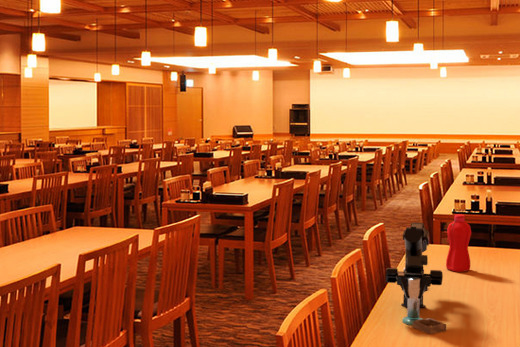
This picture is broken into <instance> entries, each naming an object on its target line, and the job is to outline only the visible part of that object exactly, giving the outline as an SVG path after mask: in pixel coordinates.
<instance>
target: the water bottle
mask: <svg viewBox="0 0 520 347" xmlns="http://www.w3.org/2000/svg"><path fill="white" fill-rule="evenodd" d="M453 217H454V219H453V221H451V222H450V223H449V224H448V225H447V229H446V233H447V241H446V242H447V245H449V249H448V252H447V256H446V261H445V267H446V269H447V270H448V271H449V270H450V271H452V272H455V273H461V272H463V273H464V272H469V271H470V270H471V258H470V253H469V243H470V240H471V236H472V229H471V225H470V224H469V223H467V222H466V221H465V215H464V214H459V213H458V214H455V215H454V216H453Z"/></svg>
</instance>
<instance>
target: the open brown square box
mask: <svg viewBox="0 0 520 347" xmlns="http://www.w3.org/2000/svg"><path fill="white" fill-rule="evenodd" d="M412 328H414V329H415V330H417V331H421V332H423V333H426V334H428V335H431V334H435V333H441V332H445V331H447V324H446V323H444V322H441V321H439V320H437V319H433V318H431V317H428V318H422V320H417V321H413V325H412Z"/></svg>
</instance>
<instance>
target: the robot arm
mask: <svg viewBox="0 0 520 347" xmlns="http://www.w3.org/2000/svg"><path fill="white" fill-rule="evenodd" d="M402 240H403V241H404V247H405V251H404V252H405V256H404V257H405V259H404V260H405V262H404V268H405V270H404V269H403V270H404V271H401V270H398V268H397V267H395V268H394V267H387V268H386V269H385V282H386V283H389V284H396V286H399V287H400V288H401V291H403V298H402V300H403V302H402V303H401V304H400V306H402V307H405V308H407V303H408V278H410V277H416V278H420V309H424V308H427V305H425V304H424V293H426V292H428V288H430V287H431V285H432V286H442V284H443V277H444V275H443V271H442V270H440V269H439V270H438V269H430V272H429V273H425V269H424V266H428V263H429V262H428V255H427V254H423V253H424V252H427V250H428V246H429V245H430V231H429V230H428V229H427V228H426V227H425V223H423V222H410V226H407V227H406V228H405V229H403V233H402Z"/></svg>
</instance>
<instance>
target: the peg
mask: <svg viewBox="0 0 520 347" xmlns="http://www.w3.org/2000/svg"><path fill="white" fill-rule="evenodd" d="M406 308H407V309H406V317H409V318H413V319H416V318H420V314H421V313H420V311H421V310H420V309H421V308H420V278H416V277H410V278H408V303H407V307H406Z"/></svg>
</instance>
